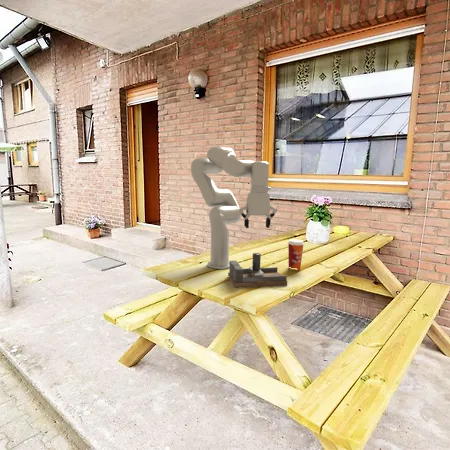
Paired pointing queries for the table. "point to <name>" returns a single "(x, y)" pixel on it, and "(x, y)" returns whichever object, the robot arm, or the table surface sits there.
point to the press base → (244, 279)
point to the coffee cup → (295, 253)
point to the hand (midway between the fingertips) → (257, 227)
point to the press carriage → (256, 266)
